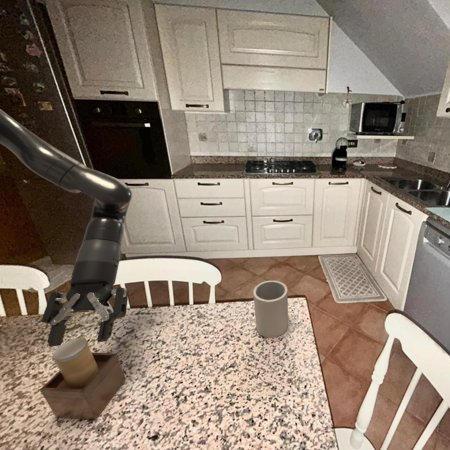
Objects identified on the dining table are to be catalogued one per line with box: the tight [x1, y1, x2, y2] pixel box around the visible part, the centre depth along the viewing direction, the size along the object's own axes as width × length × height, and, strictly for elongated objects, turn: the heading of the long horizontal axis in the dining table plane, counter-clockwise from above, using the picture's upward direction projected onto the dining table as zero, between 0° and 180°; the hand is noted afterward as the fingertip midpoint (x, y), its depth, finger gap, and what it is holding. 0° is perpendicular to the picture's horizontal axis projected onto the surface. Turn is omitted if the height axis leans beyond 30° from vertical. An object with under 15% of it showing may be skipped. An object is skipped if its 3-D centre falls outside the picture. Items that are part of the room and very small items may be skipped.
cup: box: [252, 280, 289, 338], centre depth 68 cm, size 9×9×12 cm
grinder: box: [52, 337, 99, 389], centre depth 47 cm, size 5×5×8 cm
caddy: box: [39, 351, 127, 420], centre depth 50 cm, size 8×8×8 cm
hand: (78, 343), depth 48 cm, fingers open, 8 cm apart
